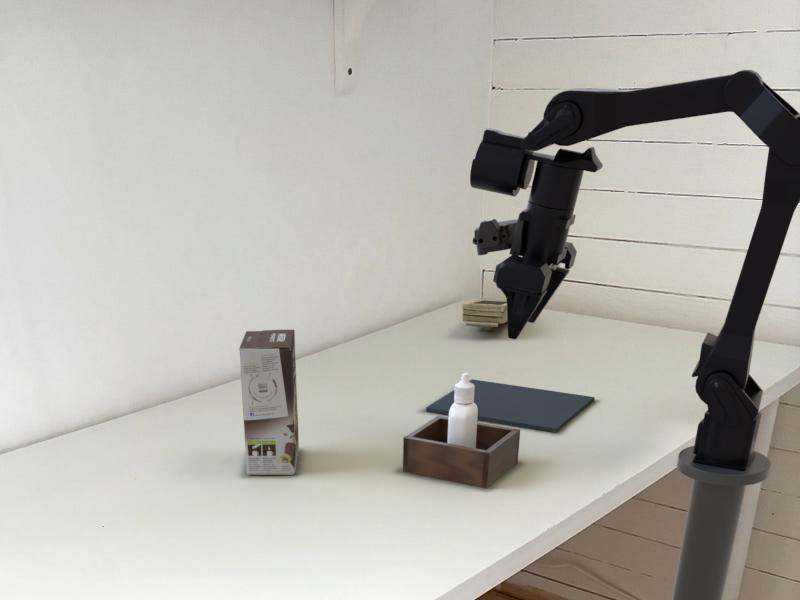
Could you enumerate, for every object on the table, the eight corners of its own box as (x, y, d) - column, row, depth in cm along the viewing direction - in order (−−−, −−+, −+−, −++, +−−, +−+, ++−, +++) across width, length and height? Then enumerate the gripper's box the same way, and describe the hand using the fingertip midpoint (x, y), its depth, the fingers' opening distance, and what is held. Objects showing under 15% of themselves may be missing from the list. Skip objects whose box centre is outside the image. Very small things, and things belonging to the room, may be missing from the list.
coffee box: (296, 475, 125) (291, 347, 117) (245, 475, 125) (237, 347, 117) (300, 450, 133) (296, 327, 124) (252, 450, 133) (245, 328, 125)
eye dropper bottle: (432, 468, 126) (436, 375, 120) (462, 457, 129) (466, 365, 123) (458, 477, 123) (463, 382, 117) (488, 466, 126) (494, 372, 120)
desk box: (517, 463, 127) (520, 429, 124) (487, 488, 120) (489, 453, 117) (436, 448, 132) (437, 415, 130) (402, 471, 125) (403, 437, 123)
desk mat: (594, 400, 148) (594, 396, 147) (555, 432, 136) (556, 428, 136) (471, 382, 157) (471, 379, 157) (425, 411, 145) (425, 407, 145)
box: (459, 332, 178) (462, 303, 177) (475, 324, 199) (478, 297, 197) (505, 335, 176) (508, 305, 175) (517, 326, 197) (520, 300, 195)
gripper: (509, 182, 131) (483, 300, 140) (466, 201, 117) (441, 332, 126) (591, 199, 128) (560, 319, 137) (558, 221, 114) (525, 353, 122)
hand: (521, 330), depth 130 cm, fingers open, 9 cm apart
